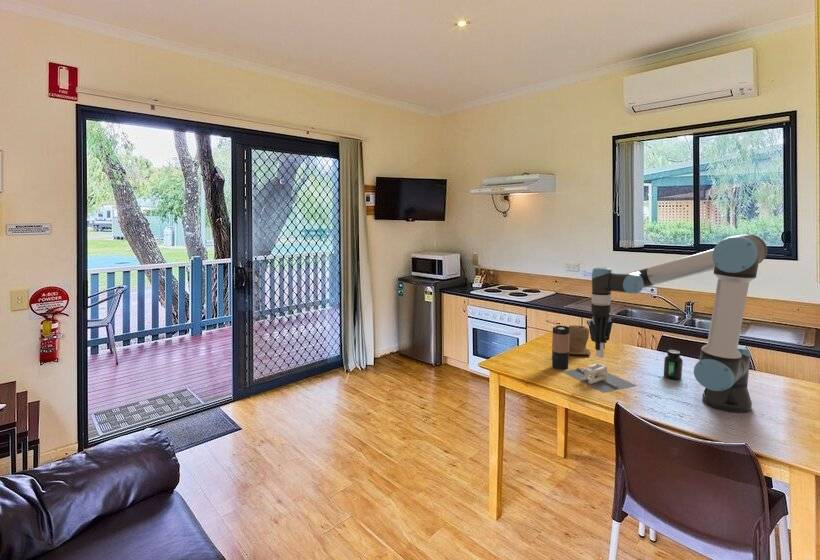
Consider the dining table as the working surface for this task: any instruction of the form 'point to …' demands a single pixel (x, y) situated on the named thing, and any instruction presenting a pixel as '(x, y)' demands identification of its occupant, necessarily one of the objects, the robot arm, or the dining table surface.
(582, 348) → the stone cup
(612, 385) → the board
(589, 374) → the stool
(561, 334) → the travel mug
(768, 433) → the dining table surface
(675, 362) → the supplement bottle
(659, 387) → the dining table surface
